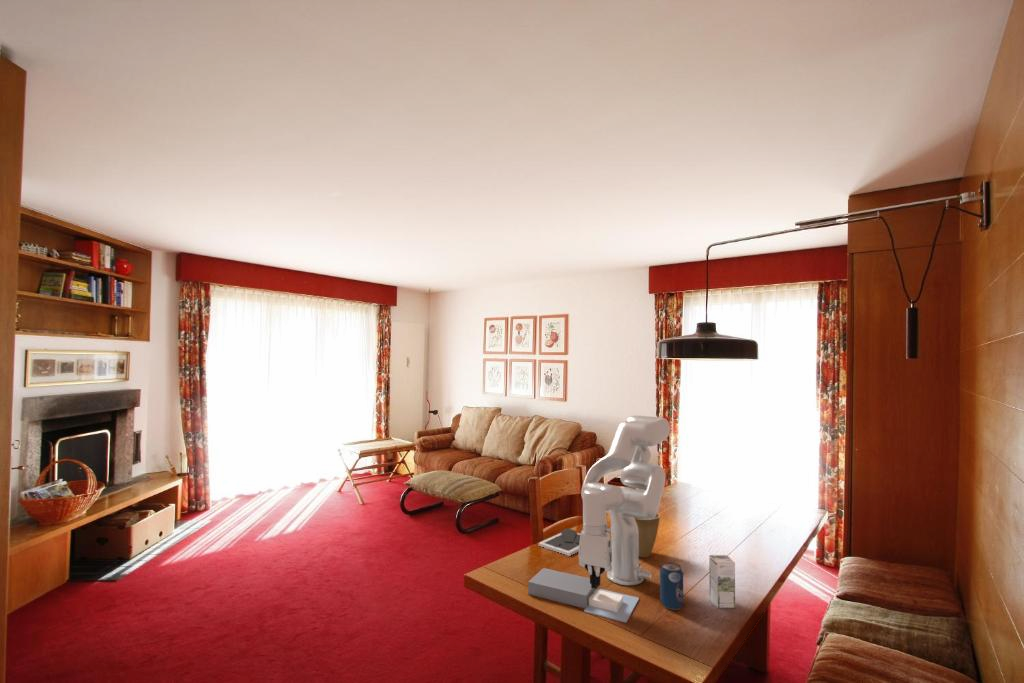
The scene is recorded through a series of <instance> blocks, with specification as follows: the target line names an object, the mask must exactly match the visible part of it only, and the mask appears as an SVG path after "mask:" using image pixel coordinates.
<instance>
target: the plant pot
mask: <svg viewBox="0 0 1024 683" xmlns="http://www.w3.org/2000/svg"><path fill="white" fill-rule="evenodd" d="M634 519H635V521H636V523H637V526H638V540H639V558H644V559H645V558H649V557H651V554H652V552H653V549H654V545H655V543H656V538H657V536H658V530H659V524H660V519H661V515H660V514H659V513H658V512H657V514H656V516H655V518H654V519H652V520H645V519H640V518H635V517H634Z"/></svg>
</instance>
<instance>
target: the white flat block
mask: <svg viewBox="0 0 1024 683" xmlns="http://www.w3.org/2000/svg"><path fill="white" fill-rule="evenodd" d="M622 603H623V596H622V595H618V594H614V593H609V592H605V591H601V590H600V589H598V590H595V591H594V592H593V594H592V595H591V596H590V598H589V605H590V606H594V607H598V608H602V609H606V610H610V611H614V612H618V610H619V608H620V607H621V605H622Z"/></svg>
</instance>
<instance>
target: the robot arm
mask: <svg viewBox="0 0 1024 683" xmlns="http://www.w3.org/2000/svg"><path fill="white" fill-rule="evenodd" d="M670 432H671V425H670V423H669V421H668V420H667V418H665V417H661V416H646V415H631V416H628V417H627V418H626V419H625V420H624V421H621V422H620V423H619V424H618V425H617V428H616V430H615V433H614V435H613V438H612V441H611V443H610V447H609V448H608V452H607V454H605V456H603V457H602V458H600V459H599V460H598V461H596V462H595V463H594V464H593V465H592V466H591V467H590V468H589V469H588V470H587V473H586V475H585V477H584V479H583V480H584V481H583V483H582V486H581V493H580V494H581V499H582V530H581V531H580V534H581V536H580V543H579V552H578V565H579V566H580V567H583V568H584V569H586V570H585V571H587V573H588V575H589V578H590V584H591V588H595V589H597V588H598V589H599V587H600V586H601V574H603V573H604V572H606V577H607V579H608V580H609V581H611V582H612V583H615V584H618V585H621V586H636V585H639V584H642V583H643V581H644V579H646V580H651V579H652V573H651V572H650V570H647V569H643V568H642V564H640V562H639V560H640V557H639V540H638V526H637V523H636V521H635V519H634V517H635V518H640V519H645V520H652V519H654V518H655V516H656V514H657V513H658V511H659V508H660V504H661V500H662V497H663V494H664V491H665V490H664V489H665V485H666V472H665V470H664V468H663V467H662V466H660V464H659V465H658V464H655V463H650V461H651V457H652V453H651V450H650V447H651V448H652V447H655V446H657V445H659V444H660V443H662V442H664V441H666V440H667V439H668V437H669V435H670ZM619 470H621V471H620V475H619V476H620V482H621V483H622V485H624V486H616V485H612V484H606V483H602V482H600V480H601V479H602V478H603V477H604V476H606V475H608V474H610V473H614V472H616V471H619ZM607 511H609V516H610V527H609V526H608V522H607ZM595 567H596V568H595Z"/></svg>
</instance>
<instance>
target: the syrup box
mask: <svg viewBox="0 0 1024 683" xmlns="http://www.w3.org/2000/svg"><path fill="white" fill-rule="evenodd" d="M708 556H709V557H708V558H709V559H708V560H709V562H708V564H709V566H708V567H709V568H708V569H709V576H708V578H709V601H710V602H711V603H712V604H713V605H714V606H715V607H716V609H736V563H735V561H734V559H732V558H731V557H730V556H729V555H727V554H723V555H722V554H710V555H708Z"/></svg>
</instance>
